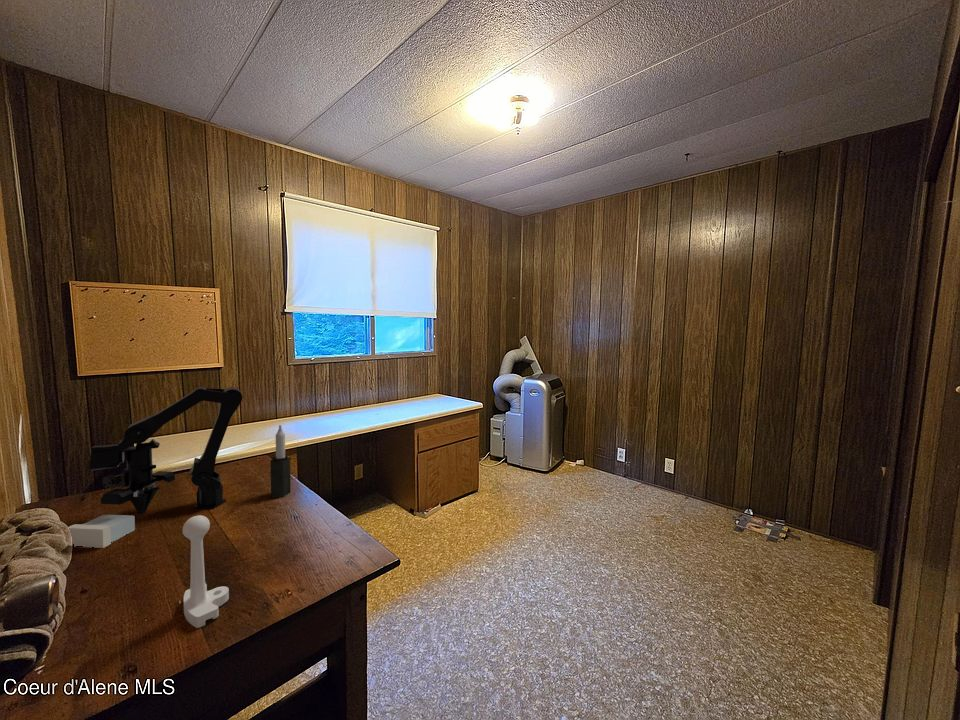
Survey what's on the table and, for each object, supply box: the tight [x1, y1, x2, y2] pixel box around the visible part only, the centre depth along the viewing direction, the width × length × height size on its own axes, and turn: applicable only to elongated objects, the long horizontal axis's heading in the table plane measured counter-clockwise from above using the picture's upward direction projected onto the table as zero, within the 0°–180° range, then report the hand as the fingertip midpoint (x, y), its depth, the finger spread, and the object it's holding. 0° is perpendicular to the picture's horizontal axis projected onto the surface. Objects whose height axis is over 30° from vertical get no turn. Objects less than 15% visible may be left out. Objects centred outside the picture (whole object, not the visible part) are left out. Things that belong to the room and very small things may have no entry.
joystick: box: [182, 515, 230, 629], centre depth 79 cm, size 11×8×20 cm
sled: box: [82, 514, 136, 543], centre depth 105 cm, size 9×7×4 cm
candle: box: [270, 424, 291, 498], centre depth 134 cm, size 5×5×25 cm
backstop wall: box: [68, 523, 112, 549], centre depth 100 cm, size 10×2×5 cm, turn 88°
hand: (141, 514), depth 115 cm, fingers closed
